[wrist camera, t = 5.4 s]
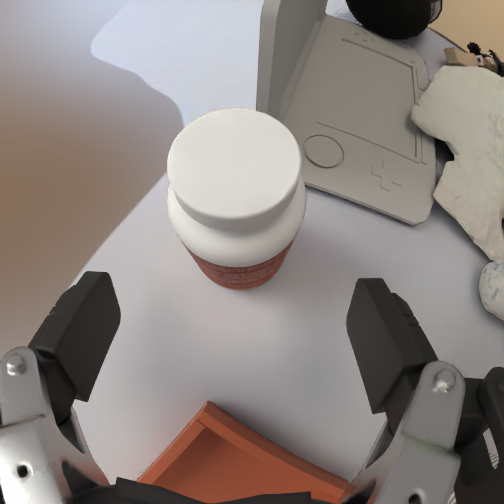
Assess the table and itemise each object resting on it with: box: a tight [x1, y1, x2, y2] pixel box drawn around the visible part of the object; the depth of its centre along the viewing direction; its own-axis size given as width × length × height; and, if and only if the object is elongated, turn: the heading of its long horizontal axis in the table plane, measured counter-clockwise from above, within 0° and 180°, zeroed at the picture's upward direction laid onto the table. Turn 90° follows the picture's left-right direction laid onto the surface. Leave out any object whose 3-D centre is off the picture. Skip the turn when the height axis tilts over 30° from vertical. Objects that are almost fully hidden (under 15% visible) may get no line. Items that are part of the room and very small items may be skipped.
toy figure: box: [444, 43, 504, 77], centre depth 25 cm, size 7×6×15 cm
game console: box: [256, 0, 436, 225], centre depth 17 cm, size 28×15×15 cm, turn 161°
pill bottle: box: [167, 108, 306, 290], centre depth 15 cm, size 6×6×11 cm
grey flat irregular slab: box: [411, 65, 504, 261], centre depth 21 cm, size 18×5×30 cm
